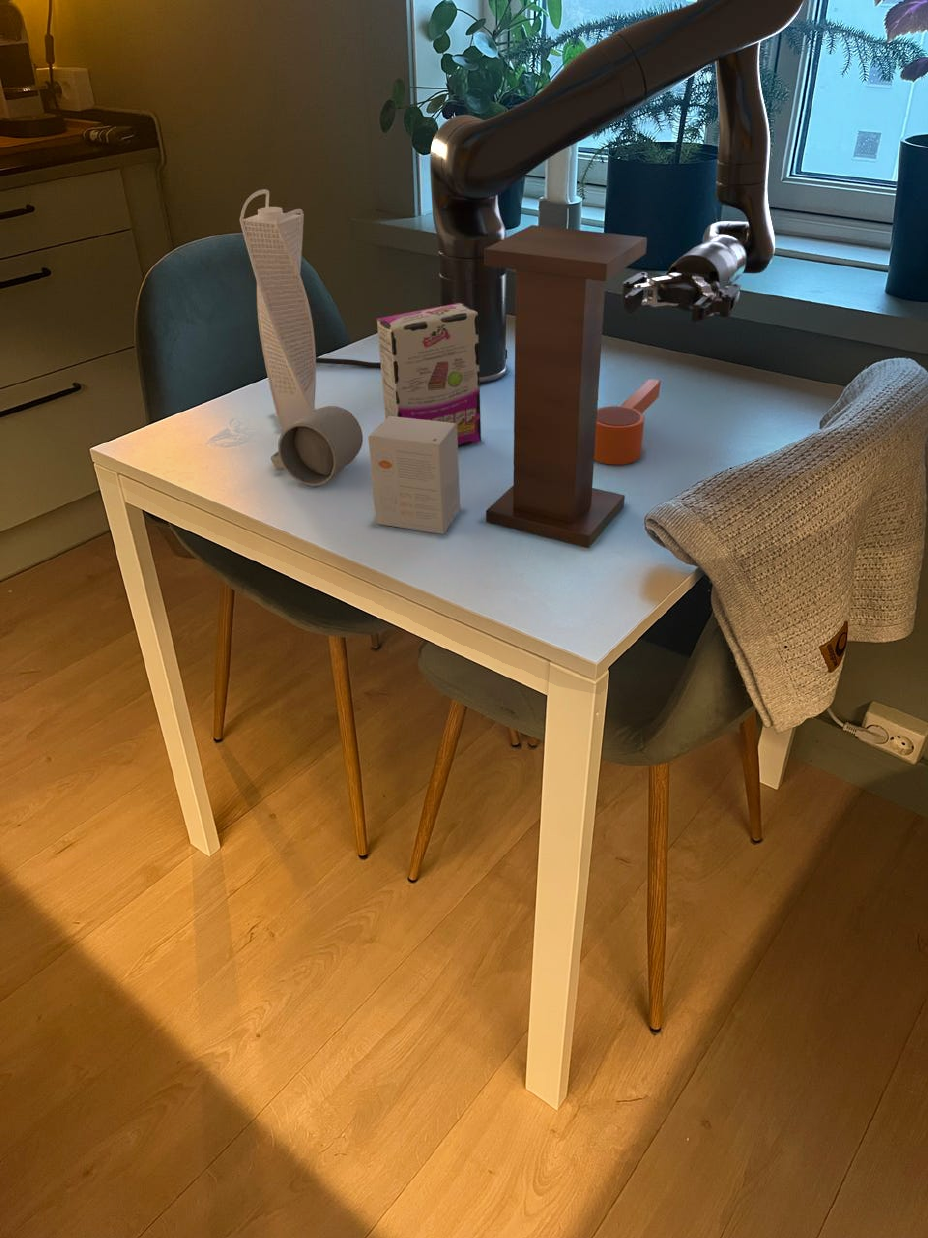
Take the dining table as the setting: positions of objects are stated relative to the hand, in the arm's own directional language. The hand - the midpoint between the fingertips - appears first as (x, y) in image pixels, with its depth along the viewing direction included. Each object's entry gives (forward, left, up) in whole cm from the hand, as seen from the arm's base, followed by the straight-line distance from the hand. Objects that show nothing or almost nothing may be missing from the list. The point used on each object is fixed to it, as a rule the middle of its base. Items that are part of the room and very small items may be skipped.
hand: (661, 309), depth 118 cm
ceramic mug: (-35, -28, -14) cm, 47 cm away
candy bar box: (-24, -17, -14) cm, 33 cm away
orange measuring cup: (-1, -8, -14) cm, 16 cm away
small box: (-19, -35, -14) cm, 42 cm away
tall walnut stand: (-5, -30, -14) cm, 33 cm away
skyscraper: (-44, -15, -14) cm, 49 cm away
